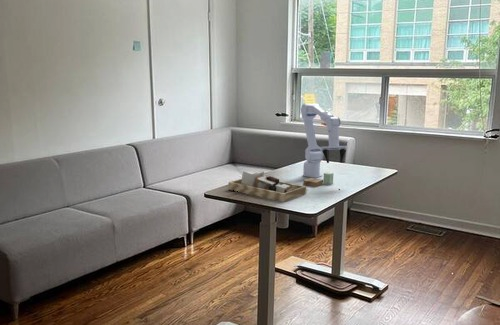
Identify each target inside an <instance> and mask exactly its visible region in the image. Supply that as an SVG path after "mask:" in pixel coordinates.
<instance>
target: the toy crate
mask: <svg viewBox="0 0 500 325" xmlns="http://www.w3.org/2000/svg"><path fill="white" fill-rule="evenodd" d="M241 181H242V178H240V179H236V180H232V181H228V190H229V189H230V190H229V191H233V190H234V191H233V192H237V191H238V193H241V192H242V193H243V194H246V195H250V196H255V197H260V198H263V199H264V198H265V199H267V200H268V199H269V200H272V201H278V202H283V203H285V202H288V201H291V200H293V199H296V198H298V197H302V196H304V195H306V194H307V185H300V184H295V183H290V182H284V181H279V182H281V183H284V184H286V185H289V186H290V188H293V189H295V190H292V191H289V192H286V193H280V192H275V191H271V190H266V189H261V188H256V187H252V186H248V185H245V184H243V183H241Z"/></svg>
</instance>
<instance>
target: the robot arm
mask: <svg viewBox="0 0 500 325" xmlns="http://www.w3.org/2000/svg"><path fill="white" fill-rule="evenodd" d="M300 113H301V119H303V123H304V124H303V125H304V130H305V133H306V134H305V136H306V141H307V145H308V146H307V147H306V149H305V150H304V152H305V153H304V154H305V155H304V157H305V158H304V159H305V161H304V162H303V172H302V173H303V174H302V176H303V177H307V178H315V179H318V178H319V177H322V176H323V175H322V174H320V173H321V163H322V161H323V159H324V157H325V160H326V164H328V163H330V157H329V156H330V151H332V150H333V151H334V150H335V151H337V150H339V157H340V158H339V161H340V163H343V160H344V156H345V153H346V151H347V150H348V145H340V135H339V133H340V132H339V130H340V129H339V128H340V125H341V118H340V117H339V116H334V115H333V114H331V113H330V111H329V110H325V111H324V110H323V108H321V106H320V104H318V103H302V105H301V108H300ZM317 115H318V116H319V117H320V118H319V119H320V120H321V121H322V122H324V123H325V125H326V129H327V131H328V133H327V134H328V146H319V145H318V143H317V137H316V132H315V126H314V122H313V121H314V119H315V118H316V117H317Z"/></svg>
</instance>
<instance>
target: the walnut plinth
mask: <svg viewBox="0 0 500 325" xmlns="http://www.w3.org/2000/svg"><path fill="white" fill-rule="evenodd" d="M302 182H303V184H302V186H306V187H307V186H308V187H313V188H317V187H319V186H323V185H324V184H323V179H321V178H320V179H319V178H313V177H308V178H307V179H303V181H302Z"/></svg>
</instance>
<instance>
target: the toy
mask: <svg viewBox="0 0 500 325" xmlns="http://www.w3.org/2000/svg"><path fill="white" fill-rule="evenodd" d="M264 174H265V171H261V172H254V173H250V172H247V171H242V176H241V179H242V181H241V183H243V184H245V185H247V186H252V187H256V188H261V189H266V190H271V191H275V192H280V193H286V192H289V191H292V190H295V189H293V188H290V186H289V185H286V184H284V183H281V182H282V180H280V179H279V178H276V177H273V176H271V175H264ZM279 181H280V182H279Z"/></svg>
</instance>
